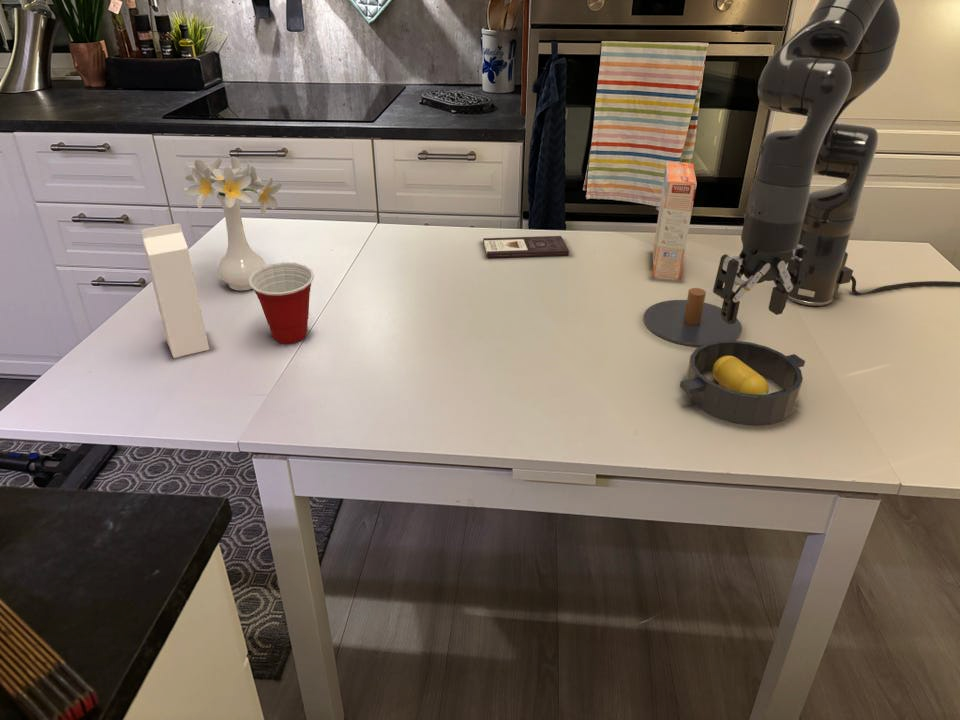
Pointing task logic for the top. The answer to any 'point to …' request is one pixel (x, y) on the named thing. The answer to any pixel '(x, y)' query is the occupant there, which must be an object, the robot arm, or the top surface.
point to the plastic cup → (284, 299)
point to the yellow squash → (739, 376)
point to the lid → (690, 321)
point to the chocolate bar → (525, 246)
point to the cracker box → (673, 219)
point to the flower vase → (233, 213)
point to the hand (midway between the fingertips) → (751, 317)
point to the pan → (742, 404)
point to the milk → (175, 289)
